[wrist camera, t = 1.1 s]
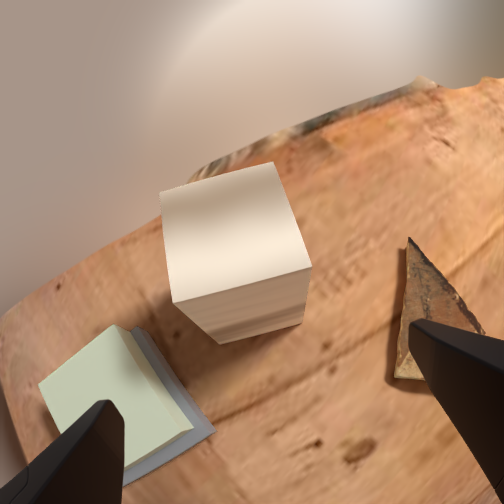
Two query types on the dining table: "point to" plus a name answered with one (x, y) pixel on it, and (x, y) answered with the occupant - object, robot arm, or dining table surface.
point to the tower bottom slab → (183, 401)
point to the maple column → (235, 254)
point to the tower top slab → (117, 393)
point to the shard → (428, 307)
